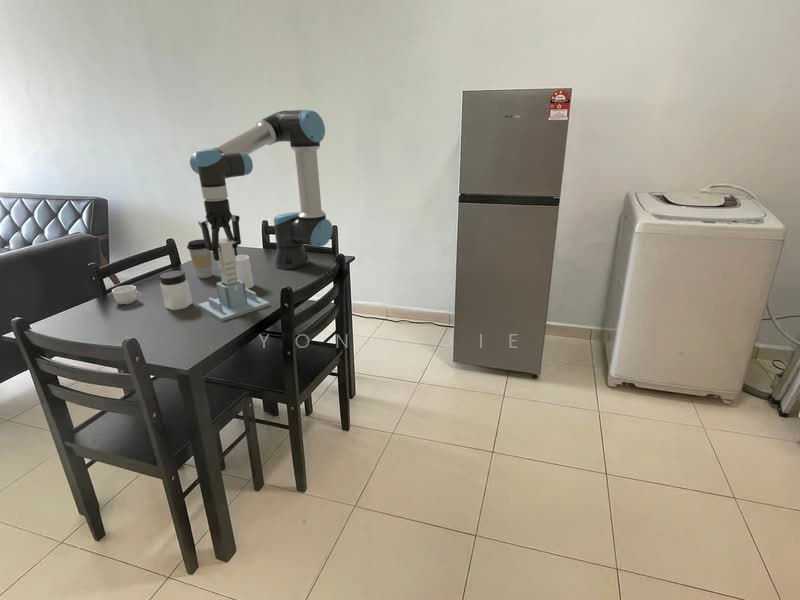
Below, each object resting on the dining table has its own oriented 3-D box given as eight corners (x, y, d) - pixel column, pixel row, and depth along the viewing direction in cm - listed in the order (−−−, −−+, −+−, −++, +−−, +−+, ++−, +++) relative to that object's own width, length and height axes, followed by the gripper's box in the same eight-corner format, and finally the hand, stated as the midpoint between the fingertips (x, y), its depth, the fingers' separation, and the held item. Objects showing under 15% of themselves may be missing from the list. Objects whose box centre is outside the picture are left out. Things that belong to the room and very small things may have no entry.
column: (235, 290, 164) (226, 238, 157) (242, 294, 161) (234, 240, 153) (221, 294, 161) (212, 241, 153) (228, 298, 157) (219, 243, 150)
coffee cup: (206, 280, 188) (199, 245, 183) (188, 278, 191) (180, 243, 186) (221, 273, 197) (215, 239, 191) (203, 271, 200) (197, 238, 194)
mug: (240, 294, 174) (235, 264, 169) (221, 291, 176) (216, 262, 171) (258, 283, 184) (254, 255, 179) (240, 281, 186) (236, 253, 182)
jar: (165, 312, 159) (157, 279, 154) (165, 303, 166) (158, 272, 161) (192, 307, 162) (186, 275, 158) (192, 299, 169) (185, 269, 165)
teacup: (110, 306, 165) (106, 292, 163) (124, 298, 172) (121, 284, 170) (135, 307, 164) (132, 293, 161) (149, 299, 171) (146, 285, 169)
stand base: (244, 293, 174) (241, 271, 171) (269, 305, 163) (266, 282, 159) (198, 307, 162) (193, 283, 159) (222, 321, 151) (217, 296, 147)
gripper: (234, 194, 156) (244, 259, 165) (184, 201, 145) (198, 271, 153) (245, 196, 151) (255, 263, 160) (194, 204, 140) (208, 275, 149)
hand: (227, 267), depth 157 cm, fingers closed on column, 4 cm apart
